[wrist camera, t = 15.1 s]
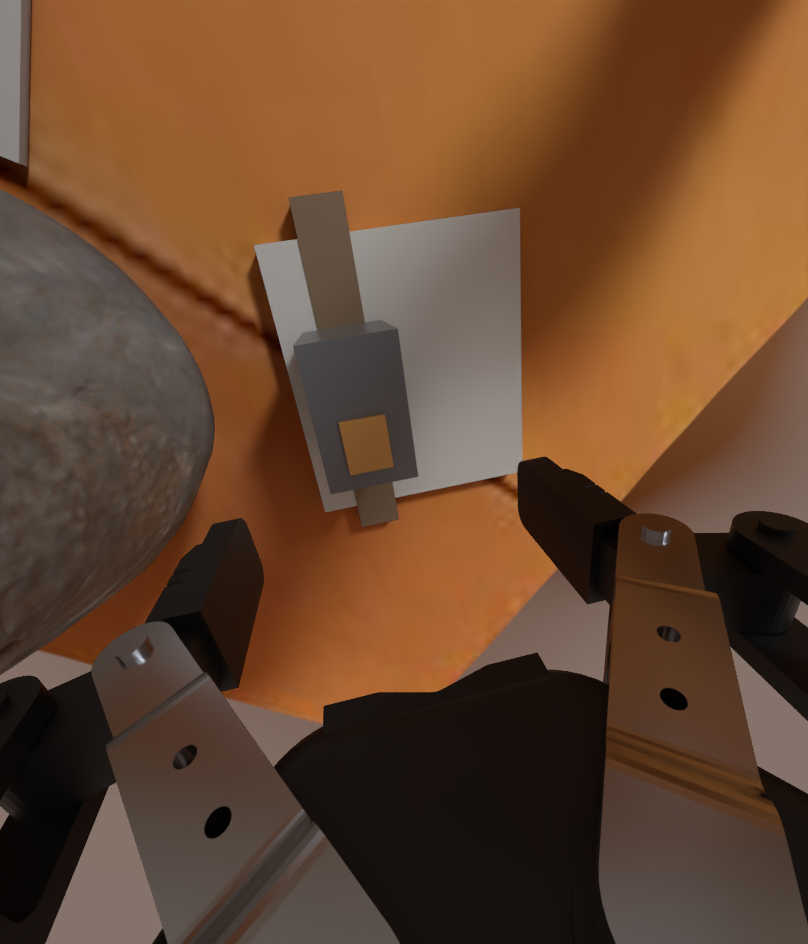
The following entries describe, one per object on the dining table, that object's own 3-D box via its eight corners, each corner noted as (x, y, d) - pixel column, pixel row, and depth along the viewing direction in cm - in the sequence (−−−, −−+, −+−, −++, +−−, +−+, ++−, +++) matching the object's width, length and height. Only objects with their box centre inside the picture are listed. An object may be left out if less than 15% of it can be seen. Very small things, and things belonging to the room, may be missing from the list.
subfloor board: (509, 174, 24) (520, 166, 23) (514, 484, 34) (523, 493, 32) (247, 209, 23) (242, 203, 21) (331, 523, 32) (330, 534, 31)
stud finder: (380, 319, 25) (398, 328, 18) (398, 436, 28) (418, 478, 22) (302, 332, 24) (292, 346, 18) (330, 449, 28) (330, 496, 21)
